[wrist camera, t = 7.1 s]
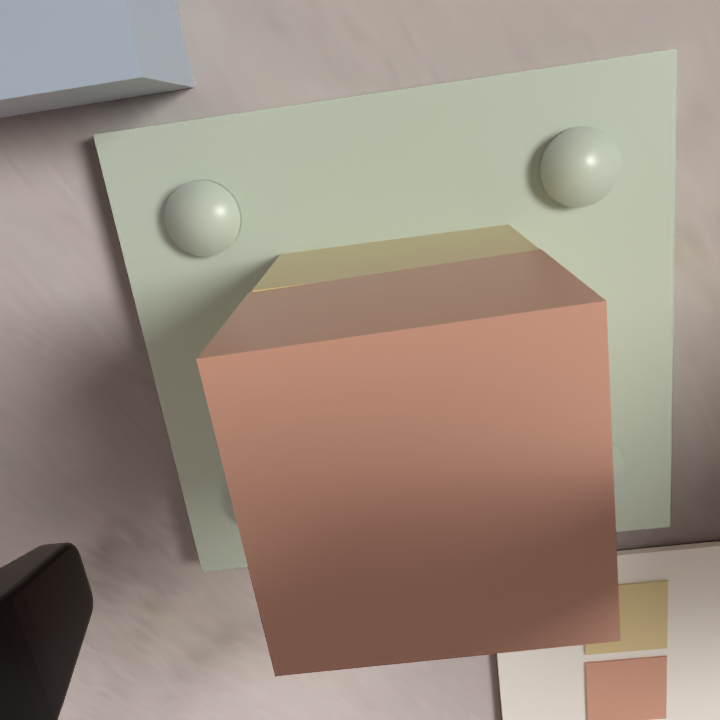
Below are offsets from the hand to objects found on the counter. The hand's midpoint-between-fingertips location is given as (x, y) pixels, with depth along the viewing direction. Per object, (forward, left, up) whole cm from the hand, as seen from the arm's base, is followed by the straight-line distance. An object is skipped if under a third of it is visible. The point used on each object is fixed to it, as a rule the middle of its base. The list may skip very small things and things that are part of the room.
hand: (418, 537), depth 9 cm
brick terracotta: (0, 0, -4) cm, 4 cm away
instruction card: (-5, +11, -8) cm, 14 cm away
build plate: (0, 0, -8) cm, 8 cm away
